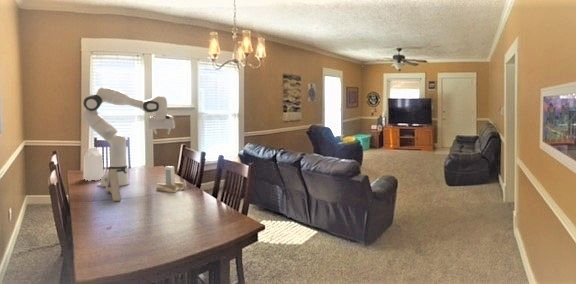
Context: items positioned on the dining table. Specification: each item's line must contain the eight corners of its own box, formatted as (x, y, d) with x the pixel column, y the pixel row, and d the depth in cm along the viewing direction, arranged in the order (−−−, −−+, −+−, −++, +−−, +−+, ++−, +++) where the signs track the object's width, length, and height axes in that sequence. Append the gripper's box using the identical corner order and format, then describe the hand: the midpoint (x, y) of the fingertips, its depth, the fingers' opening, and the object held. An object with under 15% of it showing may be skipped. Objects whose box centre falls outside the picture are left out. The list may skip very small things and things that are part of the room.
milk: (98, 177, 336) (97, 146, 333) (104, 179, 328) (102, 147, 325) (83, 179, 327) (81, 147, 324) (88, 181, 319) (87, 148, 316)
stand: (166, 187, 297) (166, 181, 296) (184, 188, 290) (184, 182, 290) (156, 190, 287) (156, 183, 286) (174, 192, 280) (174, 185, 280)
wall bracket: (116, 217, 277) (121, 199, 255) (109, 218, 275) (113, 200, 252) (112, 187, 286) (116, 168, 264) (105, 188, 284) (109, 169, 261)
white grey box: (168, 186, 291) (168, 166, 290) (174, 187, 289) (174, 166, 287) (165, 187, 288) (164, 166, 286) (171, 188, 286) (170, 167, 284)
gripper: (146, 116, 310) (147, 134, 311) (173, 116, 309) (173, 134, 311) (149, 116, 316) (150, 134, 318) (175, 116, 315) (176, 134, 317)
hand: (162, 134), depth 314 cm, fingers open, 8 cm apart
